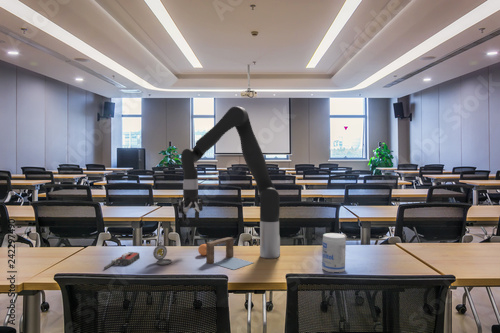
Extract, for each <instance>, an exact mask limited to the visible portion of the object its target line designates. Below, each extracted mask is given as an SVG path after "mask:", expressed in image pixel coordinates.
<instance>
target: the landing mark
mask: <svg viewBox="0 0 500 333" xmlns="http://www.w3.org/2000/svg"><path fill="white" fill-rule="evenodd" d="M252 264H254V262H253V261H249V260H244V259H242V258H238V257H234V256H233V257H232V258H229V257H228V258H225V259H223V260H219V261H216V262H214V263H213V265H215V266H218V267H222V268H226V269H229V270H233V271H235V270H238V269H241V268H243V267H246V266H249V265H252Z"/></svg>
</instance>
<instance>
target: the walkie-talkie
mask: <svg viewBox="0 0 500 333" xmlns="http://www.w3.org/2000/svg"><path fill="white" fill-rule="evenodd" d="M138 260H140V252H133V251H128V252H125V253H123V254H122V255H121V256H118V257H116V258H114V259H112V260H111V262H110V263H109V264H107V265H105V266H104V267H103V269H105V270H107V269H108V268H109V267H112V266H113V265H115V266H131V265H132V264H133V263H135V262H136V261H138Z"/></svg>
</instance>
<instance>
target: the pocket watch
mask: <svg viewBox="0 0 500 333" xmlns="http://www.w3.org/2000/svg"><path fill="white" fill-rule="evenodd" d="M163 241H164V240H162V239H158V240H157V242H158V244H159V245H157V246H155V248H154V249H153V251H152V252H153V253H152V254H153V257H154V258H155V260H156V264H157V265H161V266H162V265H163V266H165V265H169V264H171V263H172V262H173V260H172V259H170V258H165V257H166V256H167V253H168V250H167V249H168V248H167V247H166V246H165V245H163V244H162V243H163Z"/></svg>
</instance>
